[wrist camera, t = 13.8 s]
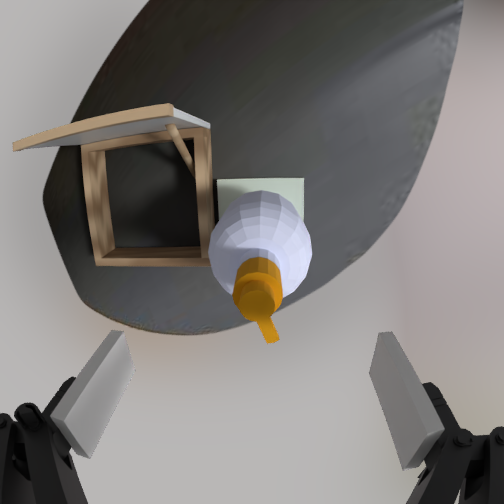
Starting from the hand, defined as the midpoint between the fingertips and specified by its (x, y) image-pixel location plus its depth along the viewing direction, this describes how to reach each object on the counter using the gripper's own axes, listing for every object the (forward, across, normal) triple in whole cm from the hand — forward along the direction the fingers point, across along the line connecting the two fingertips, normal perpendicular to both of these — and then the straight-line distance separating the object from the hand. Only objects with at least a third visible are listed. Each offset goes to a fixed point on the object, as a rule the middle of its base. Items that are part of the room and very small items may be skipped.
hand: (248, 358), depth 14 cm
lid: (+31, -16, +14) cm, 37 cm away
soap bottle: (+30, 0, 0) cm, 30 cm away
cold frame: (+31, -16, +4) cm, 35 cm away
